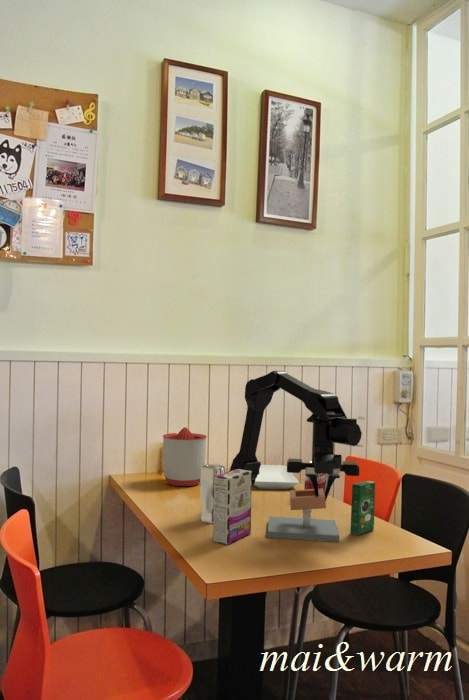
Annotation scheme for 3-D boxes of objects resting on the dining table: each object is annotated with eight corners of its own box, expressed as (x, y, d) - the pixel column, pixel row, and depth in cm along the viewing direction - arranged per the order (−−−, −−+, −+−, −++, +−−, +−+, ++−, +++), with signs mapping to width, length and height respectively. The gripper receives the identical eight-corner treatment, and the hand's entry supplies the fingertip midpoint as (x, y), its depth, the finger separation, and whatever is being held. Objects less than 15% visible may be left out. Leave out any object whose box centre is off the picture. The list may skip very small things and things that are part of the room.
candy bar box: (234, 530, 152) (236, 468, 152) (251, 534, 149) (253, 470, 149) (210, 541, 143) (212, 475, 143) (227, 545, 140) (230, 477, 140)
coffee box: (365, 527, 159) (366, 479, 159) (374, 529, 157) (376, 481, 157) (349, 533, 153) (350, 483, 153) (358, 535, 151) (360, 485, 151)
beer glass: (227, 518, 163) (229, 465, 163) (218, 525, 156) (220, 469, 156) (204, 515, 165) (206, 463, 165) (194, 522, 158) (196, 467, 158)
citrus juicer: (203, 477, 215) (204, 424, 216) (207, 488, 198) (209, 430, 198) (160, 477, 213) (162, 423, 214) (161, 488, 196) (163, 429, 196)
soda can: (326, 503, 183) (327, 465, 183) (303, 501, 185) (304, 463, 185) (327, 497, 190) (328, 461, 191) (305, 496, 192) (306, 460, 192)
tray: (286, 473, 230) (286, 464, 230) (299, 492, 199) (299, 481, 199) (243, 472, 229) (244, 463, 229) (250, 491, 198) (250, 481, 198)
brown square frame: (290, 510, 149) (289, 498, 149) (290, 501, 158) (289, 490, 158) (326, 508, 148) (325, 496, 148) (323, 499, 157) (322, 488, 157)
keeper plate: (267, 537, 147) (268, 511, 147) (269, 521, 161) (270, 497, 161) (339, 541, 145) (339, 515, 145) (334, 525, 159) (335, 501, 159)
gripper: (287, 443, 146) (285, 505, 146) (363, 447, 144) (361, 509, 144) (287, 437, 157) (286, 494, 157) (357, 440, 155) (355, 498, 155)
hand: (321, 499), depth 153 cm, fingers closed on brown square frame, 2 cm apart
